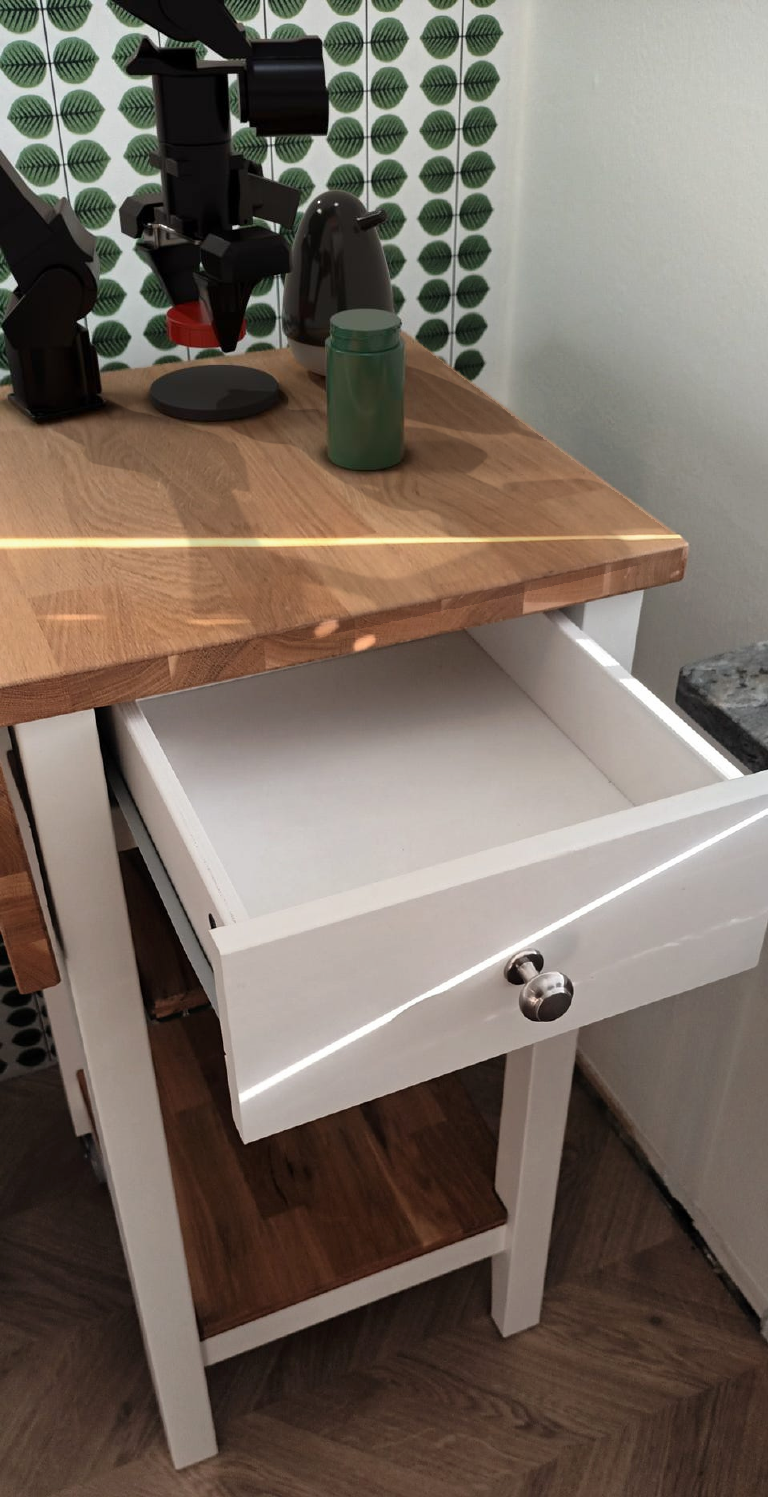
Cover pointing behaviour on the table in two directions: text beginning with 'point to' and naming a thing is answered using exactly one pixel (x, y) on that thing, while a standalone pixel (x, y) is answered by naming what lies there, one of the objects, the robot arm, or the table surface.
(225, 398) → the coaster
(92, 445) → the table surface
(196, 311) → the lid
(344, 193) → the pump dispenser
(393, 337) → the jar
